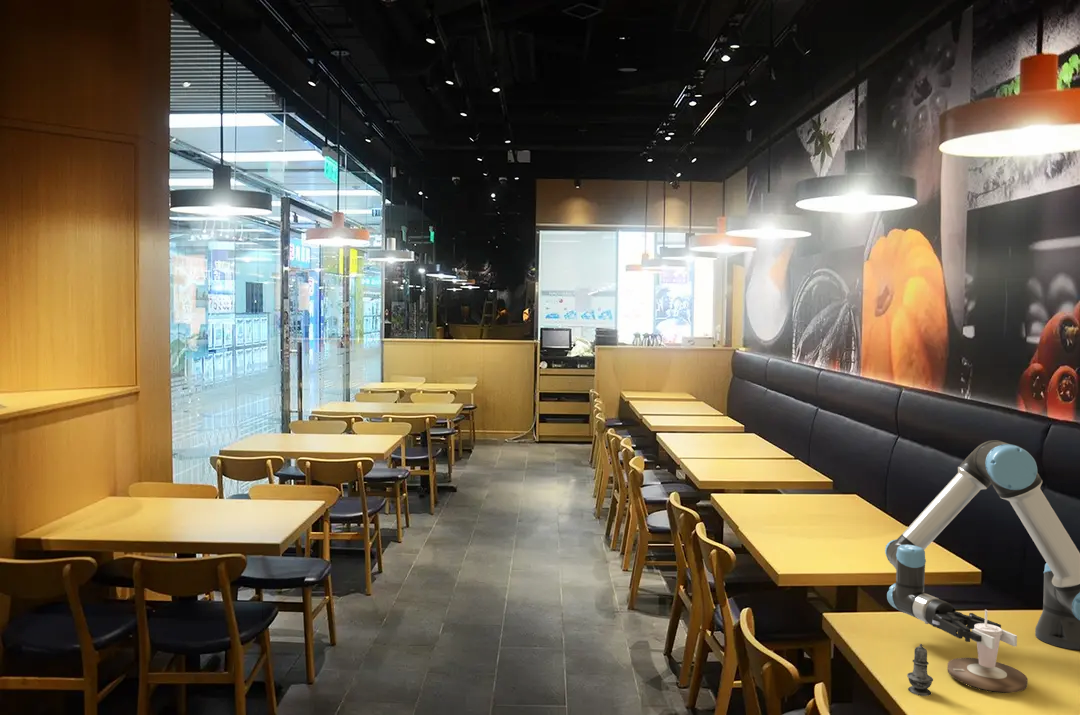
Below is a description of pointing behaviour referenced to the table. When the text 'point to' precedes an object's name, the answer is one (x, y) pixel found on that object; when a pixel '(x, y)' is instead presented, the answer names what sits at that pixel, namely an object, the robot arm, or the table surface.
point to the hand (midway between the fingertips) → (1004, 642)
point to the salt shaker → (920, 673)
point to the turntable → (987, 675)
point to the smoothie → (985, 653)
